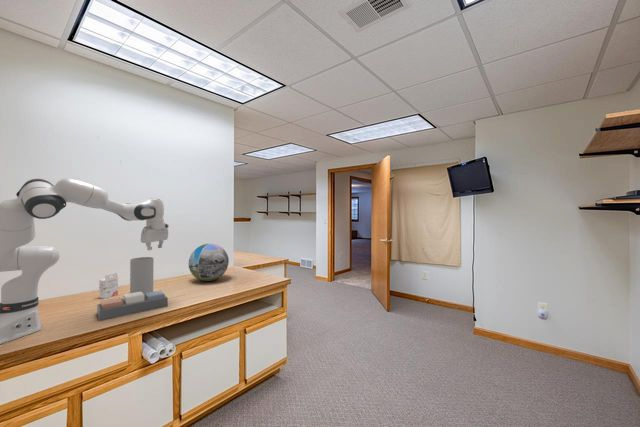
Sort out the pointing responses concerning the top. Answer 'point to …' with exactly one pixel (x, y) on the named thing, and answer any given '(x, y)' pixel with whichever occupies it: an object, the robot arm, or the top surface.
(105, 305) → the terracotta key
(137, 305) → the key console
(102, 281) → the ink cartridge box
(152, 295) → the slate key
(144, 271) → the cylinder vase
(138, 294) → the white key
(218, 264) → the grey textured ball
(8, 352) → the top surface
